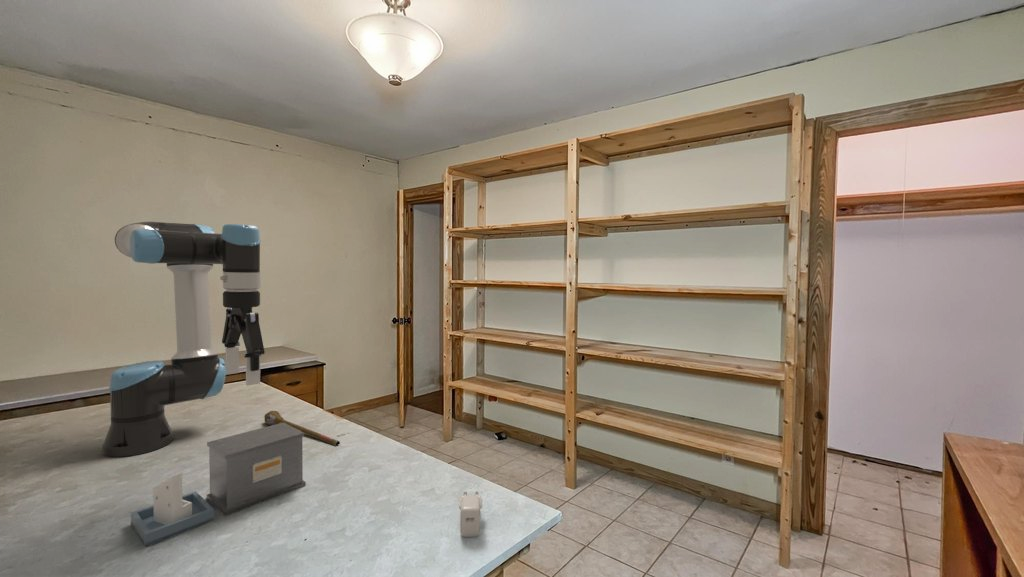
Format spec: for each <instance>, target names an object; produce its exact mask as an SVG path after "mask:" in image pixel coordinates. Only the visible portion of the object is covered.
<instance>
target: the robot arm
mask: <svg viewBox="0 0 1024 577" xmlns="http://www.w3.org/2000/svg"><path fill="white" fill-rule="evenodd" d="M260 236H261V235H260V229H259V227H257V226H256V225H252V224H251V225H250V224H238V223H237V224H236V223H227V224H224V225H223V226H222V230H221V233H215V231H214V229H213V228H212V227H210V226H208V225H203V224H202V225H201V224H196V223H178V222H177V223H176V222H161V221H160V222H159V221H140V222H134V223H129V224H127V225H124V226H122V227H121V228H119V229H118V230H117V232H116V234H115V236H114V245H115V247H116V248H117V250H118V251H119V252H120V253H121V254H123V255H125V256H126V257H129V258H131V260H132V261H134V262H136V263H144V264H151V265H152V264H153V265H154V264H166V269H168V270H169V271H170V272H171V273H172V274H173V288H174V309H175V310H174V311H175V331H176V352H175V354H174V355H172V356H171V359H170V361H171V363H170V364H166V365H165V363H164V362H163V361H162V360H151V361H150V360H149V361H142V362H137V363H133V364H128V365H125V366H122V367H120V368H118V369H115V370H114V371H113V372H112V373H111V374H110V377H109V387H108V390H109V394H110V396H109V397H110V402H109V403H110V425H109V427H108V430H107V432H106V436H105V437H104V441H103V442H102V454H103V455H104V456H106V457H113V458H114V457H117V458H118V457H129V456H136V455H142V454H145V453H149V452H152V451H156V450H159V449H161V448H163V447H166V446H167V445H169V444H170V443H171V442H173V440H174V439H173V430H172V428H171V426H170V424H169V421H168V420H167V417H166V415H165V406H169V405H173V404H180V403H184V402H191V401H195V400H204V399H207V398H210V397H212V398H213V397H216V396H218V395H219V394H220V393H221V392H222V390H223V387H224V385H225V381H226V376H227V375H232V374H238V373H240V347H241V343H240V341H239V340H240V337H241V336H242V340H243V343H244V347H245V351H246V353H245V355H244V356H243V357H244V358H245V385H246V386H252V385H258V384H261V356H262V355H264V354H265V353H266V352H265V347H264V341H263V338H262V337H263V336H262V331H261V327H260V326H261V325H260V319H259V318H260V317H259V312H253V308H258V307H260V305H261V292H260V291H259V290H258V289H260V288H261V270H260V265H261V261H260V260H261V259H260V258H261V257H260V256H261V255H260V254H261V242H262V240H261V238H260ZM214 265H222V275H221V276H220V280H221V281H222V288H223V289H224V290H225V291H223V292H222V306H223V307H224V308H226V309H225V321H224V328H223V334H222V338H221V343H222V344H223V346H224V348H225V360H224V359H223V358H221V357H218V356H219V355H218V354H219V353H218V352H217V351H216V350H214V349H213V348H212V332H211V331H212V330H211V309H210V295H209V293H210V292H209V275H208V274H209V272H210V271H211V270H212V269H214Z"/></svg>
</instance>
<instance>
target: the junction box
mask: <svg viewBox="0 0 1024 577" xmlns="http://www.w3.org/2000/svg"><path fill="white" fill-rule="evenodd" d="M303 437H305V434H304V433H303V432H302V431H300V430H298V429H296V428H294V427H292V426H290V425H288V424H286V423H284V422H283V423H279V424H275V425H267V426H263V427H261V428H258V429H257V428H256V429H253V430H249V431H245V432H242V433H238V434H233V435H229V436H226V437H222V438H219V439H214V440H211V441H207V442H206V446H207V447H208V450H209V451H208V455H209V456H208V457H209V458H208V459H209V460H208V461H209V493H207V494H206V499H207V500H208V501H209V502H210V503H211V504H212V505H213V506H214V507H215V508H216V509H217V510H218V511H219V512H220V513H221V514H222V515H223V516H225V517H226V516H230V515H232V514H235V513H237V512H240V511H243V510H245V509H247V508H251V507H253V506H255V505H258V504H261V503H263V502H265V501H268V500H271V499H274V498H277V497H279V496H282V495H284V494H286V493H289V492H292V491H294V490H295V491H296V490H297V489H300V488H303V487H305V486H306V484H307V483H306V481H304V479H303V476H304V475H303V474H304V473H303V471H304V470H303V466H304V465H303Z"/></svg>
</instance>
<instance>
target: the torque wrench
mask: <svg viewBox="0 0 1024 577" xmlns="http://www.w3.org/2000/svg"><path fill="white" fill-rule="evenodd" d="M283 422H284V423H286V424H288V425H290V426H292V427H294V428H296V429H298V430H300V431H302V432H303V433H304V435H307V436H310V437H311V438H315V439H317V440H320V441H322V442H325V443H328V444H329V443H330V445H333V446H334V445H335V447H336V446H337V444H341V442H340V440H337V439H334V438H333V437H329V436H327V435H324V434H321V433H319V432H316V431H315V430H311V429H309V428H306V427H304V426H301V425H298V424H295V423H293V422H291V421H288V420H286V419H284V417H282V416H281V415H280V413H279V412H278V411H277V410H270V411H268V412H266V413H265V414H264V423H265V424H266V425H267V426H272V425H275V424H279V423H283Z"/></svg>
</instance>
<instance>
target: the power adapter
mask: <svg viewBox="0 0 1024 577" xmlns="http://www.w3.org/2000/svg"><path fill="white" fill-rule="evenodd" d="M482 508H483V498H482V497H481V496H480V495H479V491H475V495H468V493H467V491H464V492H463V495H461V497H460V498H459V502H458V509H459V510H460V515H459V516H460V517H459V518H460V519H459V520H460V521H459V522H460V524H459V525H460V526H459V527H460V528H459V529H460V531H459V533H460V536H461V537H463V538H475V537H476V538H477V537H478V536H479V535H480V528H481V509H482Z"/></svg>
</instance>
